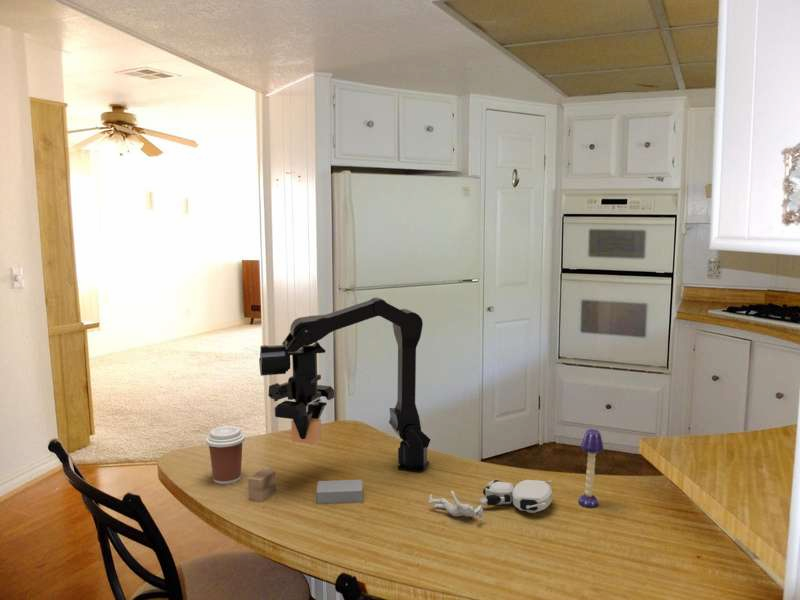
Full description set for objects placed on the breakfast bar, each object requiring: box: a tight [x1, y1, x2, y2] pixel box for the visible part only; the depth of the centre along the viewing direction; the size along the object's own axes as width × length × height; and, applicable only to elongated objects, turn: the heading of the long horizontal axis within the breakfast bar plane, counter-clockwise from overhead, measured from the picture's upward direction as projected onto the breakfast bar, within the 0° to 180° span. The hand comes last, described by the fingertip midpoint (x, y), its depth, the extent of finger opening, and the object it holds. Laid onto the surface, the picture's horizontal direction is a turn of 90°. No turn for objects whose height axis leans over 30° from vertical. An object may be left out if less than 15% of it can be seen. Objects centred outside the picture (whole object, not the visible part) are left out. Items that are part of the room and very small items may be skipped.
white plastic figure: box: [428, 490, 484, 519], centre depth 133 cm, size 8×5×12 cm
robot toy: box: [478, 479, 553, 514], centre depth 138 cm, size 12×4×15 cm
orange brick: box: [290, 418, 322, 445], centre depth 150 cm, size 6×3×5 cm, turn 70°
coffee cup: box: [205, 425, 246, 485], centre depth 152 cm, size 9×9×12 cm
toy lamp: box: [578, 428, 604, 509], centre depth 137 cm, size 5×5×17 cm
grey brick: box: [316, 479, 364, 505], centre depth 142 cm, size 10×6×3 cm, turn 94°
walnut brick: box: [247, 468, 277, 503], centre depth 143 cm, size 6×3×5 cm, turn 160°
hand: (306, 436), depth 150 cm, fingers closed on orange brick, 3 cm apart
